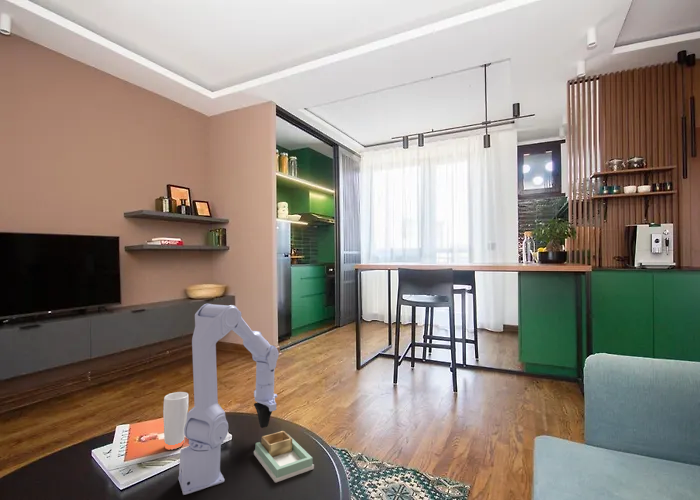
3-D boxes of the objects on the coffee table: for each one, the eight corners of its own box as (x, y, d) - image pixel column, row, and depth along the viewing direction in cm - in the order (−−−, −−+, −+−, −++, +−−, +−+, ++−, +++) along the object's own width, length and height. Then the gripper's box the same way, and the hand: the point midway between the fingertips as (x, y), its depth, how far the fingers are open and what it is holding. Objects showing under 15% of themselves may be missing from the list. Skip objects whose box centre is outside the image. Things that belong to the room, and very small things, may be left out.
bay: (275, 482, 86) (275, 470, 86) (253, 454, 99) (254, 443, 99) (313, 468, 92) (314, 457, 92) (288, 443, 105) (289, 433, 105)
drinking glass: (164, 442, 105) (166, 392, 106) (188, 439, 107) (190, 390, 108) (158, 454, 98) (161, 400, 99) (184, 450, 100) (187, 398, 101)
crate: (268, 458, 95) (269, 445, 95) (261, 448, 100) (261, 436, 100) (292, 451, 99) (292, 438, 99) (283, 442, 104) (283, 430, 104)
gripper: (286, 387, 105) (285, 432, 105) (268, 374, 117) (267, 415, 116) (264, 391, 101) (262, 438, 101) (248, 378, 113) (247, 420, 112)
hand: (263, 426), depth 108 cm, fingers closed
